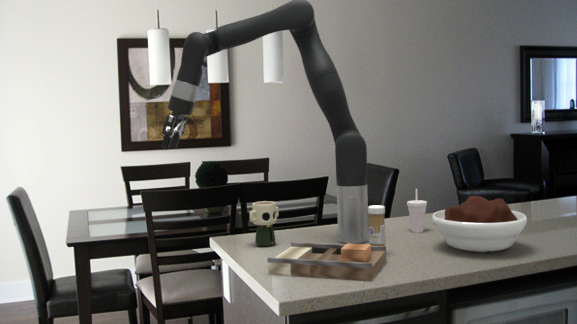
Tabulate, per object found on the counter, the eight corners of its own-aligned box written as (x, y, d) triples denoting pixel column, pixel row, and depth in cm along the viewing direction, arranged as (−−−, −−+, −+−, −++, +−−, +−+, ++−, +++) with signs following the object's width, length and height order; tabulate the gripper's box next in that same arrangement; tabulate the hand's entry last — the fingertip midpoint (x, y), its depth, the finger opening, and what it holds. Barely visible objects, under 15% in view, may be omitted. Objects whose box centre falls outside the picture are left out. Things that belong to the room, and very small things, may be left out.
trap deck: (386, 261, 150) (386, 246, 150) (371, 281, 133) (371, 264, 133) (292, 256, 159) (292, 242, 159) (268, 274, 143) (267, 258, 142)
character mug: (258, 250, 168) (256, 206, 167) (244, 246, 174) (242, 204, 173) (286, 243, 175) (285, 201, 174) (272, 240, 181) (270, 199, 180)
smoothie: (405, 233, 184) (404, 189, 183) (409, 229, 190) (408, 186, 189) (426, 233, 182) (425, 189, 181) (429, 229, 188) (428, 187, 187)
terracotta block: (371, 258, 142) (370, 244, 142) (365, 264, 137) (365, 250, 136) (347, 257, 144) (347, 243, 144) (341, 263, 139) (340, 248, 138)
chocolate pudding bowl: (414, 245, 167) (413, 193, 166) (484, 235, 176) (484, 186, 175) (471, 264, 144) (470, 205, 143) (548, 252, 153) (548, 196, 152)
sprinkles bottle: (365, 255, 158) (364, 206, 156) (374, 251, 161) (373, 204, 160) (380, 257, 155) (379, 207, 154) (389, 253, 158) (387, 205, 157)
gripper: (188, 100, 168) (173, 153, 169) (200, 101, 182) (186, 150, 184) (164, 92, 168) (149, 145, 170) (178, 95, 183) (164, 143, 184)
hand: (168, 148), depth 177 cm, fingers open, 8 cm apart
